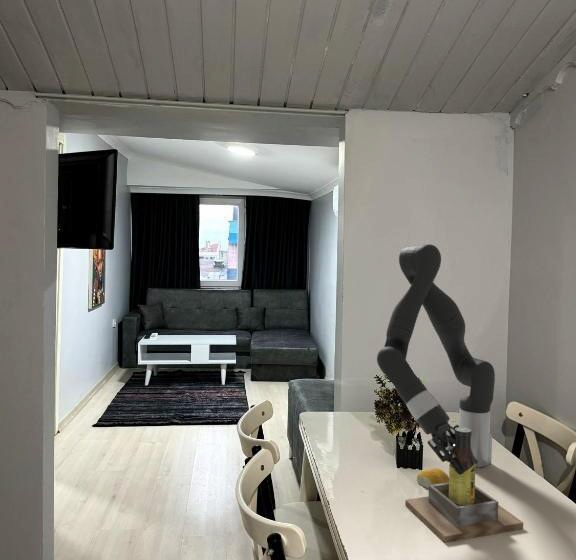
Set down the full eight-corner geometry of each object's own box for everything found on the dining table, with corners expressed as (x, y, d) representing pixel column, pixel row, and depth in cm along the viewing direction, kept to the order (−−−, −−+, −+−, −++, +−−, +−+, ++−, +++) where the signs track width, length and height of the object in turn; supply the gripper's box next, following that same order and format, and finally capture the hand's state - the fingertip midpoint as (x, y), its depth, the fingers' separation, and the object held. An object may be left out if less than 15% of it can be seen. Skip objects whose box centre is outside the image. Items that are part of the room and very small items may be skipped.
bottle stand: (476, 494, 142) (476, 473, 142) (523, 528, 125) (524, 504, 124) (405, 505, 136) (405, 483, 135) (444, 542, 118) (445, 517, 118)
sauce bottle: (476, 514, 126) (478, 435, 125) (449, 511, 127) (452, 433, 126) (472, 501, 133) (474, 426, 131) (446, 498, 134) (449, 424, 132)
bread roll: (454, 484, 148) (454, 471, 148) (433, 492, 143) (434, 478, 143) (431, 474, 155) (432, 461, 155) (411, 481, 150) (411, 468, 150)
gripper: (423, 410, 128) (467, 470, 121) (449, 398, 139) (491, 453, 131) (404, 425, 132) (445, 485, 125) (431, 413, 143) (470, 467, 135)
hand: (468, 468), depth 128 cm, fingers closed on sauce bottle, 6 cm apart
